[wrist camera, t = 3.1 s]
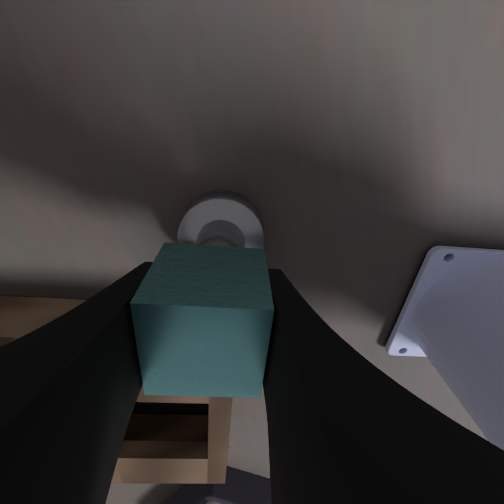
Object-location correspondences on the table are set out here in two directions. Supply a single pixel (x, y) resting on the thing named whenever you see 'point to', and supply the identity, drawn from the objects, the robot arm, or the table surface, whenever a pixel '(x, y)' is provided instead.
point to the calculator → (227, 490)
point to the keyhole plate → (143, 415)
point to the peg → (207, 304)
